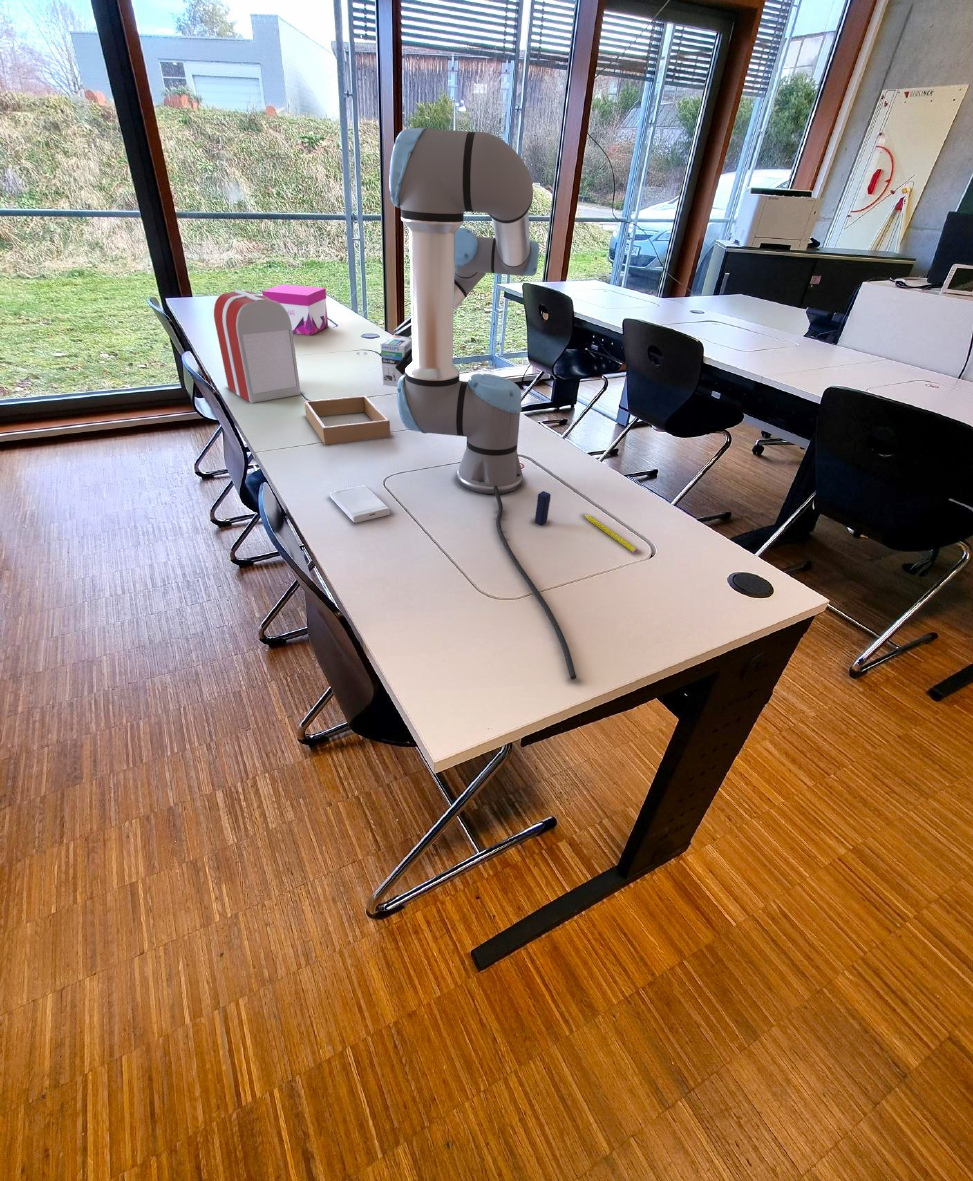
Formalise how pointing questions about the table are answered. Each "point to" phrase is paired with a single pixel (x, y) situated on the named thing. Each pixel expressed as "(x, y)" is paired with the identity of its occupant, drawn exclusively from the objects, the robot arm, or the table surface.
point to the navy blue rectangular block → (542, 508)
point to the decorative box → (302, 306)
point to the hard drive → (359, 503)
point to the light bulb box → (393, 358)
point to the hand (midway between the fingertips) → (390, 364)
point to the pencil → (611, 534)
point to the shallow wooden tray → (347, 431)
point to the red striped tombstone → (256, 346)
